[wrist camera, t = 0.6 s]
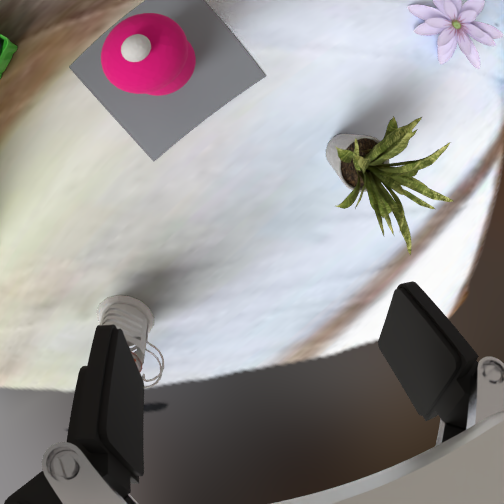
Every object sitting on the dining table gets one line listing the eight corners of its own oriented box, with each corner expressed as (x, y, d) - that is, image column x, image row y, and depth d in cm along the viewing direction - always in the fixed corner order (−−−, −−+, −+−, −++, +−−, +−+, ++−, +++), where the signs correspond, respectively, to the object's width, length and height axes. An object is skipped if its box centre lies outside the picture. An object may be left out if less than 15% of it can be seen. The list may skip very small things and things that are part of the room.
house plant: (399, 182, 44) (470, 231, 30) (322, 221, 45) (376, 288, 31) (374, 94, 36) (459, 113, 23) (285, 131, 37) (341, 166, 24)
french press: (99, 288, 44) (63, 435, 23) (170, 305, 48) (172, 455, 27) (94, 331, 48) (70, 465, 27) (158, 346, 52) (159, 480, 31)
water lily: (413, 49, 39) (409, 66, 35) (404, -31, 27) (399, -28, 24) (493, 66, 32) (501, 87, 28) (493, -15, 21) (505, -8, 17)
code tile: (265, 76, 33) (265, 76, 33) (153, 161, 36) (153, 161, 36) (181, -24, 25) (181, -25, 25) (69, 67, 28) (68, 66, 28)
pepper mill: (123, 82, 30) (55, 88, 14) (150, 28, 28) (108, -22, 11) (178, 103, 33) (163, 124, 16) (206, 49, 30) (221, 14, 14)
